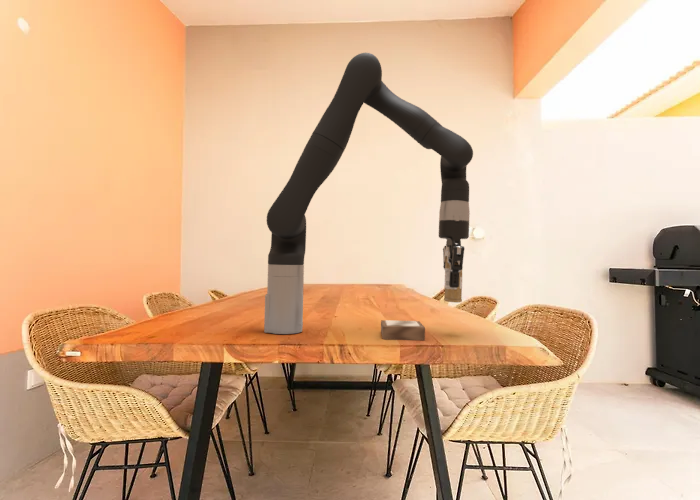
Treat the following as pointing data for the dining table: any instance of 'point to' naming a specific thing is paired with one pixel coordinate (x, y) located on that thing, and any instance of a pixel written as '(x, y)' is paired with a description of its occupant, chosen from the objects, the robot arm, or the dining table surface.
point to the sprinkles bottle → (450, 292)
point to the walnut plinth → (402, 330)
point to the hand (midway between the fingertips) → (451, 286)
